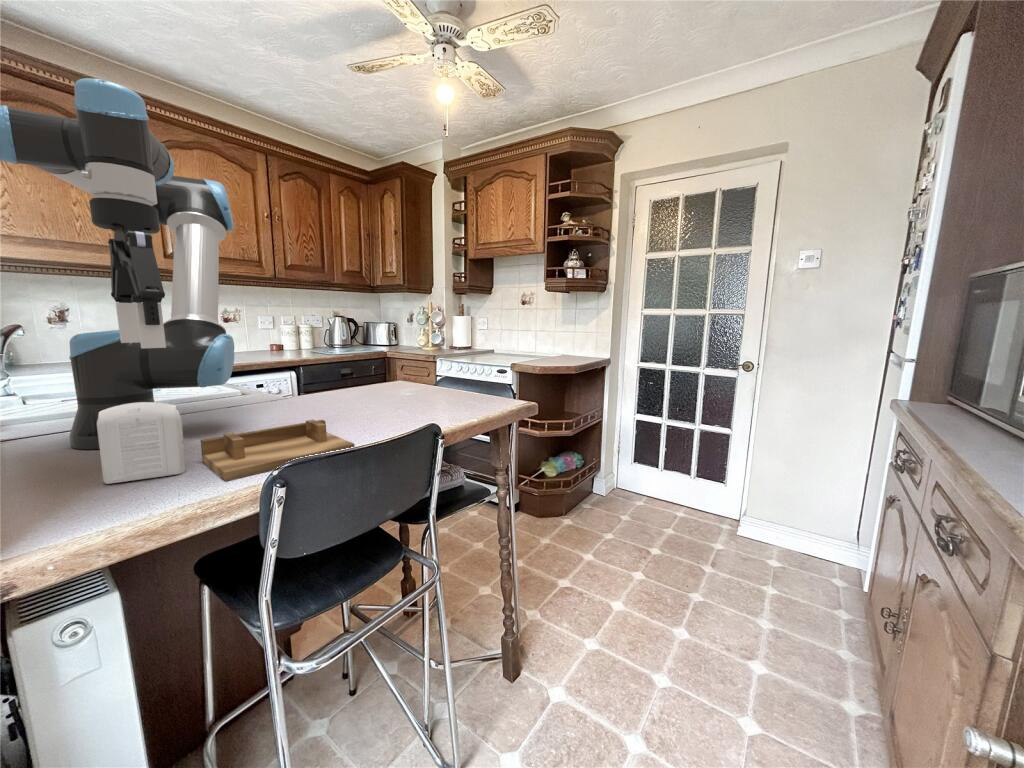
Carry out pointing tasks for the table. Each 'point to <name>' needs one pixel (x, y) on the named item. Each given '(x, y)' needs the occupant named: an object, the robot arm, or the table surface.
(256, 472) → the ledge shelf
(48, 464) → the table surface
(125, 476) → the photo printer
